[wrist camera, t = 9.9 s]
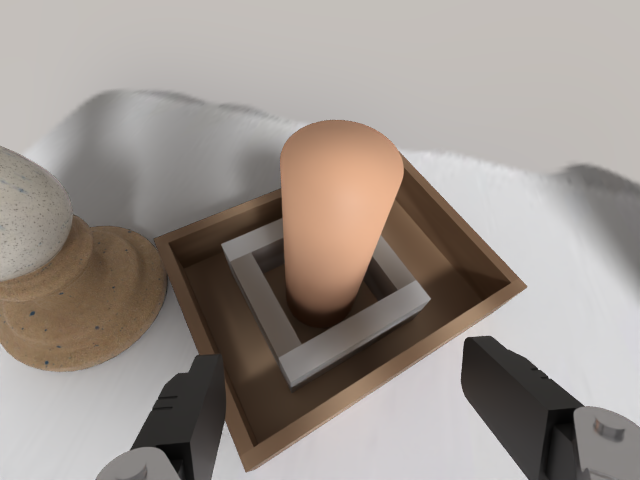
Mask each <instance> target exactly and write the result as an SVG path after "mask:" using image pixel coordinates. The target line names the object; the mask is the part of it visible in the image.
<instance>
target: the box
mask: <svg viewBox="0 0 640 480" xmlns="http://www.w3.org/2000/svg"><path fill="white" fill-rule="evenodd" d="M399 153H400V152H399ZM400 155H401V158H402V161H403V166H404V174H403V179H402V182H401V185H400V187H399V190H398V192H397V195H396V197H395V200H394V202H393V205H392V207H391V210H390V212H389V215H388V217H387V220H386V222H385V225H384V227H383V230H382V233H381V235H380V238H379V240H378V243H377V245H376V248H375V250H374V253H373V255H372V258H371V260H370V263H369V265H368V268H367V270H366V273H365V275H364V278H363V280H362V283H361V285H360V288H359V290H358V293H357V295H356V298H355V301H354V303H353V306H352V308H351V310H350V312H349V314H348V315H347V316H346V317H345V319H343V320H342V321H341V322H339V323H338V324H336V325H334V326H331V327H326V328H315V327H311V326H308V325H305V324H303V323H302V322H300V321H299V320H298V319H297V318H295V316H294V315H293V314H292V313H291V311H290V309H289V307H288V304H287V299H286V281H285V259H284V237H283V215H282V193H281V189H278V190H275V191H273V192H270V193H268V194H265V195H263V196H260V197H258V198H255V199H253V200H250V201H248V202H245V203H243V204H240V205H238V206H235V207H233V208H230V209H228V210H225V211H222V212H220V213H217V214H215V215H212V216H210V217H207V218H205V219H202V220H200V221H197V222H195V223H192V224H190V225H187V226H185V227H182V228H180V229H177V230H175V231H172V232H169V233H167V234H164V235H162V236H159V237H157V238H154V242H155V244H156V247H157V249H158V252H159V254H160V257H161V259H162V262H163V264H164V267H165V269H166V272H167V275H168V277H169V280H170V282H171V285H172V287H173V290H174V292H175V295H176V297H177V300H178V302H179V305H180V307H181V310H182V312H183V315H184V318H185V320H186V323H187V325H188V328H189V330H190V333H191V335H192V338H193V340H194V343H195V345H196V348H197V350H198V353H199V355H210V354H221V355H222V358H223V367H224V378H225V389H226V416H225V421H226V424H227V426H228V429H229V431H230V434H231V436H232V439H233V441H234V444H235V447H236V449H237V452H238V454H239V457H240V459H241V462H242V464H243V467H244V469H245V472H249V471H252V470H255V469H257V468H258V467H260V466H261V465H263V464H264V463H266V462H268V461H269V460H271V459H272V458H274V457H275V456H277V455H278V454H280V453H281V452H283V451H284V450H286V449H287V448H289V447H290V446H292V445H293V444H295V443H296V442H298V441H299V440H301V439H302V438H304V437H305V436H307V435H308V434H310V433H311V432H313V431H314V430H316V429H317V428H319V427H320V426H322V425H323V424H325V423H326V422H328V421H330V420H331V419H333V418H334V417H336V416H337V415H339V414H340V413H342V412H343V411H345V410H346V409H348V408H349V407H351V406H352V405H354V404H355V403H357V402H358V401H360V400H361V399H363V398H364V397H366V396H367V395H369V394H370V393H372V392H373V391H375V390H376V389H378V388H379V387H381V386H382V385H384V384H385V383H387V382H388V381H390V380H392V379H393V378H395V377H396V376H398V375H399V374H401V373H402V372H404V371H405V370H407V369H408V368H410V367H411V366H413V365H414V364H416V363H417V362H419V361H420V360H422V359H423V358H425V357H426V356H428V355H429V354H431V353H432V352H434V351H435V350H437V349H438V348H440V347H441V346H443V345H444V344H446V343H447V342H449V341H450V340H452V339H454V338H455V337H457V336H458V335H460V334H461V333H463V332H464V331H466V330H467V329H469V328H470V327H472V326H473V325H475V324H476V323H478V322H479V321H481V320H482V319H484V318H485V317H487V316H488V315H490V314H491V313H493V312H494V311H496V310H497V309H498V308H500V307H501V306H502V305H504V304H505V303H506V302H508V301H509V300H511V299H512V298H513V297H515V296H516V295H517V294H519V293H520V292H522V291H523V290H524V289H526V288H527V285H526V284H525V283H524V282H523V281H522V280H521V279H520V278H519V277H518V276H517V275H516V274H515V273H514V272H513V271H512V270H511V269H510V268H509V267H508V266H507V264H506V263H505V262H504V261H503V260H502V259H501V258H500V257H499V256H498V255H497V254H496V253H495V252H494V251H493V250H492V249H491V248H490V247H489V246H488V244H487V243H486V242H485V241H484V240H483V239H482V238H481V237H480V236H479V235H478V234H477V233H476V232H475V231H474V230H473V229H472V228H471V227H470V226H469V224H468V223H467V222H466V221H465V220H464V219H463V218H462V217H461V216H460V215H459V214H458V213H457V212H456V211H455V210H454V209H453V208H452V207H451V206H450V205H449V203H448V202H447V201H446V200H445V199H444V198H443V197H442V196H441V195H440V194H439V193H438V192H437V191H436V190H435V189H434V188H433V187H432V186H431V185H430V183H429V182H428V181H427V180H426V179H425V178H424V177H423V176H422V175H421V174H420V173H419V172H418V171H417V170H416V169H415V168H414V167H413V166H412V165H411V164H410V162H409V161H408V160H407V159H406V158H405V157H404V156H403V155H402V154H401V153H400Z"/></svg>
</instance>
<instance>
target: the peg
mask: <svg viewBox="0 0 640 480" xmlns="http://www.w3.org/2000/svg"><path fill="white" fill-rule="evenodd" d="M280 171H281V193H282V215H283V237H284V259H285V281H286V299H287V304H288V307H289V309H290V311H291V313H292V314H293V315H294V316H295V318H297V319H298V320H299V321H300V322H302V323H303V324H305V325H308V326H311V327H315V328H326V327H331V326H334V325H336V324H338V323H339V322H341V321H342V320H343V319H345V317H346V316H347V315H348V314H349V312H350V310H351V308H352V306H353V303H354V301H355V298H356V295H357V293H358V290H359V288H360V285H361V283H362V280H363V278H364V275H365V273H366V270H367V268H368V265H369V263H370V260H371V258H372V255H373V253H374V250H375V248H376V245H377V243H378V240H379V238H380V235H381V233H382V230H383V227H384V225H385V222H386V220H387V217H388V215H389V212H390V210H391V207H392V205H393V202H394V200H395V197H396V195H397V192H398V190H399V187H400V185H401V182H402V179H403V174H404V166H403V161H402V158H401V155H400V153H399V151H398V150H397V148H396V147H395V145H394V144H393V143H392V142H391V141H390V140H389V139H388V138H387V137H385V136H384V135H383V134H382V133H380V132H378V131H376V130H375V129H373V128H371V127H369V126H366V125H363V124H360V123H356V122H352V121H345V120H326V121H320V122H316V123H312V124H310V125H307V126H305V127H303V128H301V129H299V130H298V131H297V132H295V133H294V134H293V135H292V136H291V137H290V138H289V139H288V140H287V141H286V143H285V145H284V146H283V149H282V152H281V156H280Z"/></svg>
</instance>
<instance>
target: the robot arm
mask: <svg viewBox="0 0 640 480" xmlns="http://www.w3.org/2000/svg"><path fill="white" fill-rule="evenodd" d="M461 385H462V389H463V392H464V395H465V397H466V398H467V400H468V401H469V403H470V404H471V405H472V406H473V408H474V409H475V410H476V412H477V413H478V414H479V416H480V417H481V418H482V419H483V421H484V422H485V423H486V425H487V426H488V427H489V429H490V430H491V431H492V432H493V434H494V435H495V436H496V438H497V439H498V440H499V442H500V443H501V444H502V445H503V447H504V448H505V449H506V451H507V452H508V453H509V455H510V456H511V457H512V459H513V460H514V461H515V462H516V464H517V465H518V466H519V468H520V469H521V470H522V472H523V473H524V474H525V475H526V477H527V478H528V479H529V480H640V427H639V426H637V425H636V424H635V423H634V422H632V421H630V420H629V419H627V418H625V417H624V416H622V415H619V414H617V413H615V412H612V411H609V410H606V409H603V408H598V407H590V406H586V407H585V406H584V405H583V404H581V403H580V402H579V401H578V400H576V399H575V398H574V397H573V396H572V395H570V394H569V393H568V392H567V391H565V390H564V389H563V388H562V387H560V386H559V385H558V384H557V383H556V382H554V381H553V380H552V379H549V378H548V376H547V375H546V374H545V373H543V372H542V371H541V370H538V368H537V367H536V366H535V365H533V364H532V363H531V362H530V361H529V360H527V359H526V358H525V357H523V356H521V355H518V354H516V353H514V352H512V351H510V350H507V349H506V348H505V347H504V346H503V345H501V344H500V343H499V342H498V341H497V340H495V339H494V338H493V337H491V336H479V337H467V338H466V339H465V341H464V348H463V360H462V372H461ZM225 416H226V389H225V378H224V367H223V358H222V355H221V354H210V355H197V356H196V357H195V359H194V361H193V364H192V366H191V368H190V370H189V372H188V373H178V374H177V375H175V376H174V377H173V378H172V379H171V380H170V381H169V382H168V383H166V384H165V386H164V388H163V389H162V391H161V393H160V395H159V397H158V400H157V401H156V403H155V404H154V406H153V408H152V411H151V412H150V414H149V416H148V418H147V419H146V421H145V423H144V425H143V427H142V429H141V431H140V432H139V434H138V436H137V438H136V440H135V442H134V444H133V446H132V447H131V449H130V451H128V452H126V453H123V454H122V455H120V456H118V457H116V458H115V459H114V460H112V461H111V462H110V463H108V464H107V465H106V466H105V467H104V468H103V469H102V470H101V472H100V473H99V474H98V476H97V478H96V479H95V480H211V477H212V473H213V469H214V464H215V460H216V456H217V451H218V447H219V443H220V438H221V434H222V430H223V425H224V421H225Z"/></svg>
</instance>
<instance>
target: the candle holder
mask: <svg viewBox="0 0 640 480" xmlns="http://www.w3.org/2000/svg"><path fill="white" fill-rule="evenodd" d="M166 289H167V273H166V269H165V267H164V264H163V262H162V259H161V257H160V254H159V252H158V251H157V249H156V248H155V247H154V245H152V244H151V243H150V242H149V241H148V240H147V239H146V238H145V237H143V236H141V235H140V234H138V233H136V232H134V231H131V230H129V229H125V228H121V227H114V226H96V227H89V226H88V224H87V223H86V222H85V221H84V220H82V219H81V218H79V217H78V216H75V215H73V213H72V204H71V201H70V198H69V196H68V193H67V192H66V190H65V188H64V187H63V186H62V184H61V183H60V182H59V181H58V180H57V179H56V178H55V177H54V176H53V175H52V174H51V173H50V172H48V171H47V170H46V169H44V168H43V167H41V166H40V165H38V164H36V163H35V162H33V161H31V160H30V159H28V158H26V157H24V156H22V155H20V154H18V153H16V152H14V151H11V150H9V149H7V148H4V147H2V146H0V343H1V344H2V345H3V347H4V348H5V350H6V351H7V352H8V353H9V354H10V355H12V356H13V357H14V358H15V359H16V360H18V361H20V362H22V363H24V364H26V365H28V366H30V367H34V368H37V369H41V370H46V371H55V372H67V371H76V370H81V369H86V368H90V367H92V366H95V365H98V364H101V363H103V362H105V361H107V360H109V359H111V358H113V357H115V356H117V355H118V354H120V353H121V352H123V351H124V350H126V349H127V348H129V347H130V346H131V345H132V344H133V343H135V342H136V341H137V340H138V339H139V338H140V337H141V336H142V335H143V334H144V333H145V332H146V331H147V330H148V328H149V327H150V325H151V324H152V323H153V321H154V320H155V318H156V317H157V315H158V313H159V311H160V309H161V307H162V304H163V301H164V298H165V295H166Z"/></svg>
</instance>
